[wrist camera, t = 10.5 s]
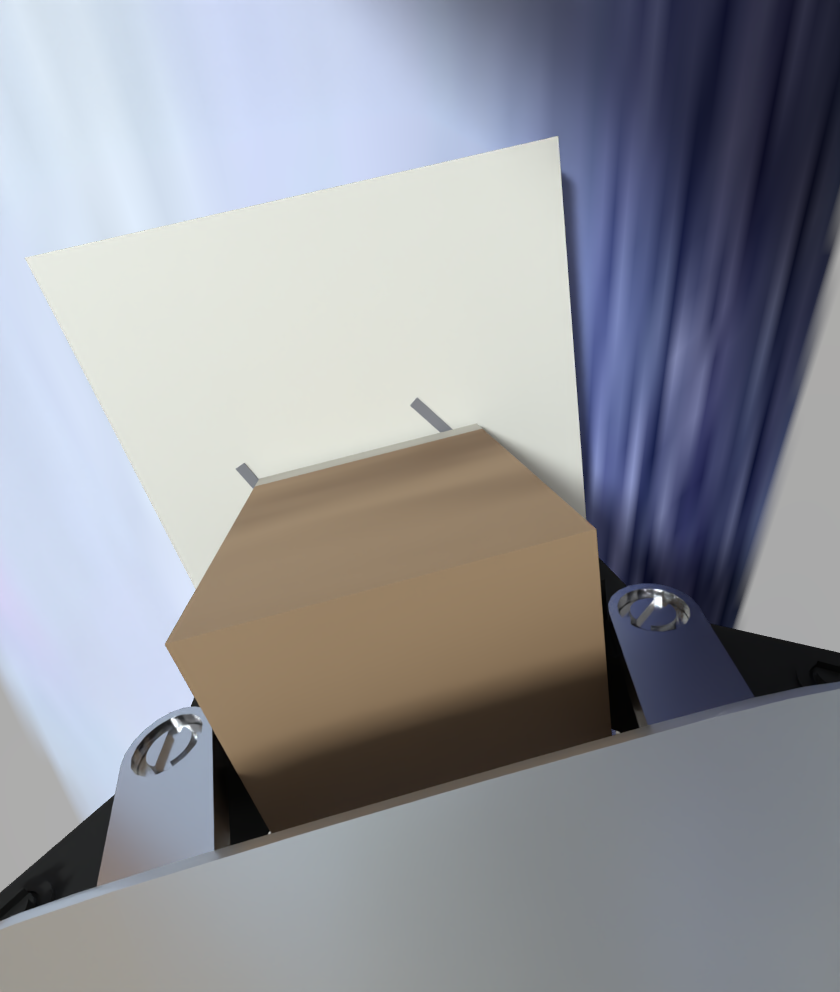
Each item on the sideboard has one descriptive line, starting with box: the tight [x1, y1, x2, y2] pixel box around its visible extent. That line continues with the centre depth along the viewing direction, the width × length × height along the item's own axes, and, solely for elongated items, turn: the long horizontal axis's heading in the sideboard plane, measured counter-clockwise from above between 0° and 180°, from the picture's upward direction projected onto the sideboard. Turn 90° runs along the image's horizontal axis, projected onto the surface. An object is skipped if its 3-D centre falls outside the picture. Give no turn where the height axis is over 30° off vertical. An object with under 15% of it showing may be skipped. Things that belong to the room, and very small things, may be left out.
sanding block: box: [165, 423, 612, 834], centre depth 9 cm, size 7×5×6 cm
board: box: [25, 136, 586, 589], centre depth 13 cm, size 20×10×1 cm, turn 12°
